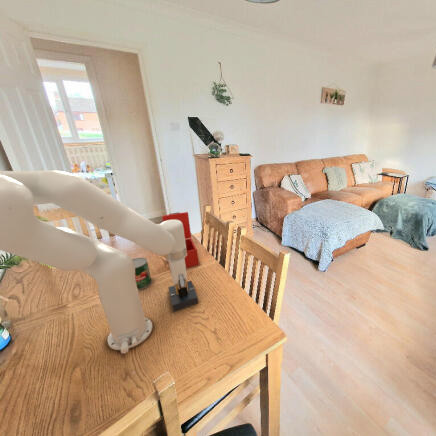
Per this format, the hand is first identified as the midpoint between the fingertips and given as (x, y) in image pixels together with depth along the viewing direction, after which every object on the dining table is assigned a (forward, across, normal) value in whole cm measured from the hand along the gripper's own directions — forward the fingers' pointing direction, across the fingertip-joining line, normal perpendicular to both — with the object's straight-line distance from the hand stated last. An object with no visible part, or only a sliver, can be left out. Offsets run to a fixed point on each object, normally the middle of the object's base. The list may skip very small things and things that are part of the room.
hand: (182, 291), depth 96 cm
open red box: (+3, -28, +5) cm, 29 cm away
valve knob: (0, 0, 0) cm, 0 cm away
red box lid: (-13, -34, +5) cm, 37 cm away
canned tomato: (+4, -18, -14) cm, 23 cm away
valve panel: (+3, 0, 0) cm, 3 cm away
